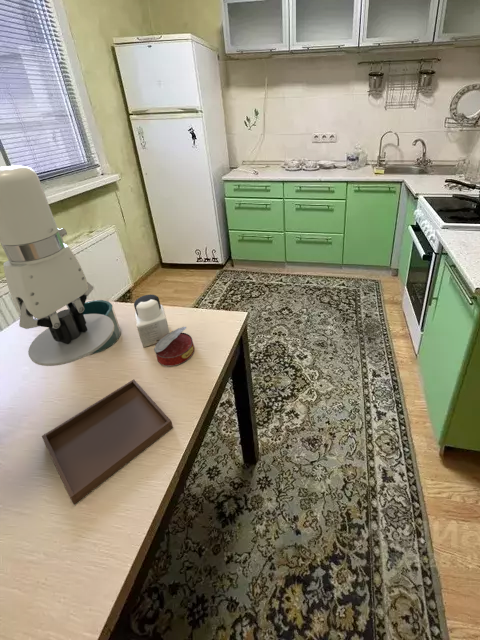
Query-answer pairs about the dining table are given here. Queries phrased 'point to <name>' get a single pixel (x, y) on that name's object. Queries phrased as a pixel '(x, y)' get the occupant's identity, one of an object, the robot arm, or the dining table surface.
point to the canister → (107, 310)
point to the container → (150, 319)
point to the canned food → (174, 348)
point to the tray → (105, 438)
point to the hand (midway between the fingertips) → (72, 334)
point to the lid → (81, 343)
